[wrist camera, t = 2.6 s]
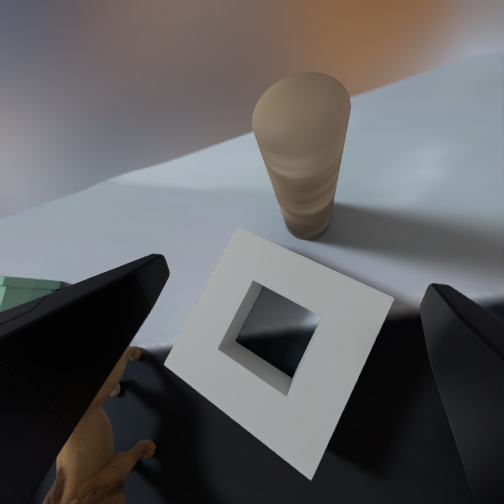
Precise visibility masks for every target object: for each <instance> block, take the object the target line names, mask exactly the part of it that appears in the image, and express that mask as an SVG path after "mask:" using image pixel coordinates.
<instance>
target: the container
mask: <svg viewBox="0 0 504 504" xmlns="http://www.w3.org/2000/svg"><path fill="white" fill-rule="evenodd" d="M61 284H62V281H54V280H44V279H33V278H21V277H9V276H0V312H1V311H4V310H7V309H10V308H13V307H15V306H18V305H21V304H23V303H26V302H29V301H31V300H34V299H37V298H39V297H42V296H44V295H47V294H48V295H49V294H50V293H52V292H55V291H56V289H60V288H61Z"/></svg>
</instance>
